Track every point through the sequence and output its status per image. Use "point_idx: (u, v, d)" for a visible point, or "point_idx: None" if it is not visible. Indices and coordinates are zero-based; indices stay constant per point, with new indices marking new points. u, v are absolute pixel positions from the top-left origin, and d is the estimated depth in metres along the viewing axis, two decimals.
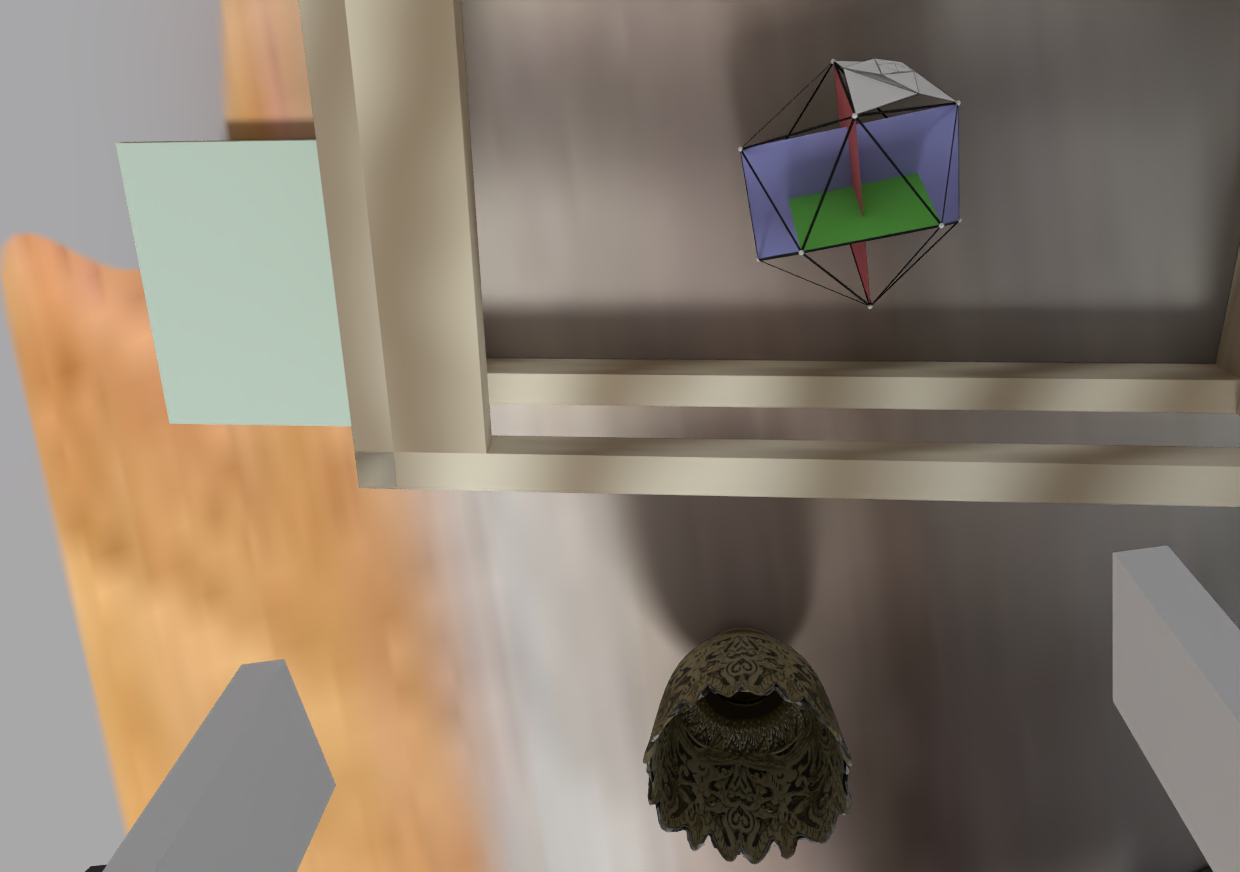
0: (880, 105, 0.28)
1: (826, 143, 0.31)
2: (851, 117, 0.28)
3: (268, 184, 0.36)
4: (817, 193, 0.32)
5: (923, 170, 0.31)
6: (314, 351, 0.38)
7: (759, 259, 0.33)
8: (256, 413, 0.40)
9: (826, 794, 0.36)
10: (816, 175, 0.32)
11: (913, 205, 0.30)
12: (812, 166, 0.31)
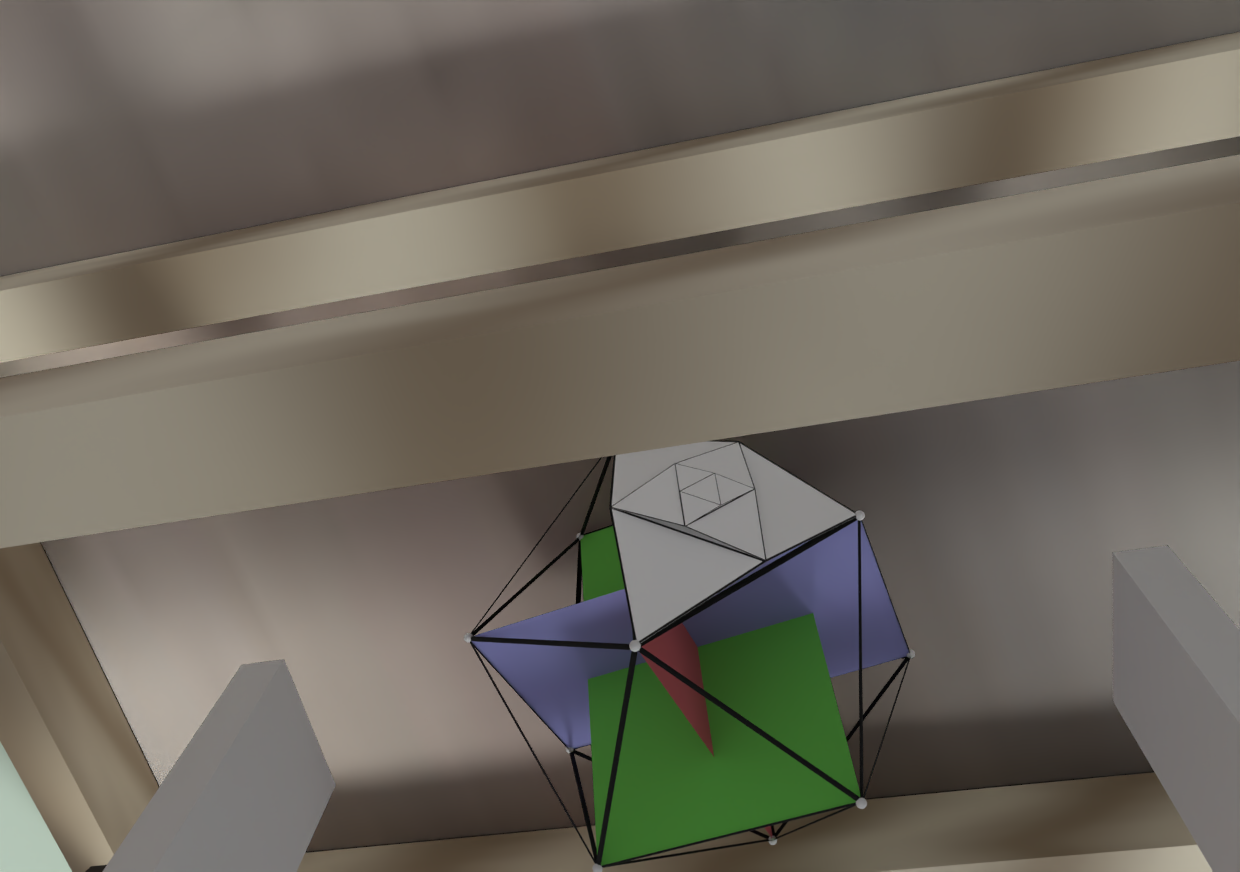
0: (687, 608, 0.13)
1: (625, 605, 0.16)
2: (629, 647, 0.13)
3: None
4: (637, 664, 0.17)
5: (822, 608, 0.16)
6: None
7: (570, 753, 0.19)
8: None
9: None
10: (625, 644, 0.17)
11: (805, 724, 0.15)
12: (612, 636, 0.17)
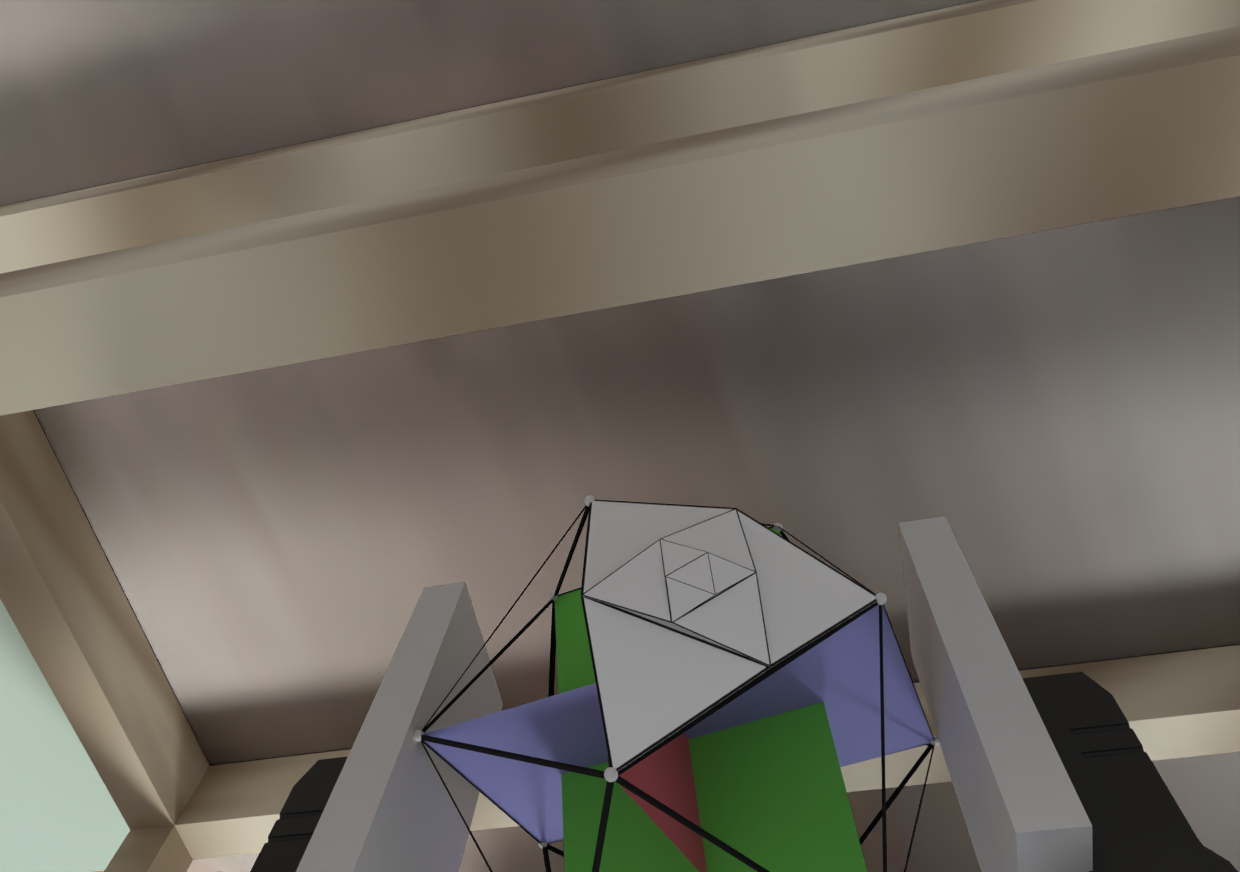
0: (674, 726, 0.11)
1: None
2: (604, 776, 0.11)
3: None
4: None
5: (834, 697, 0.14)
6: None
7: (543, 849, 0.16)
8: None
9: None
10: (604, 738, 0.14)
11: (816, 844, 0.13)
12: (588, 730, 0.14)
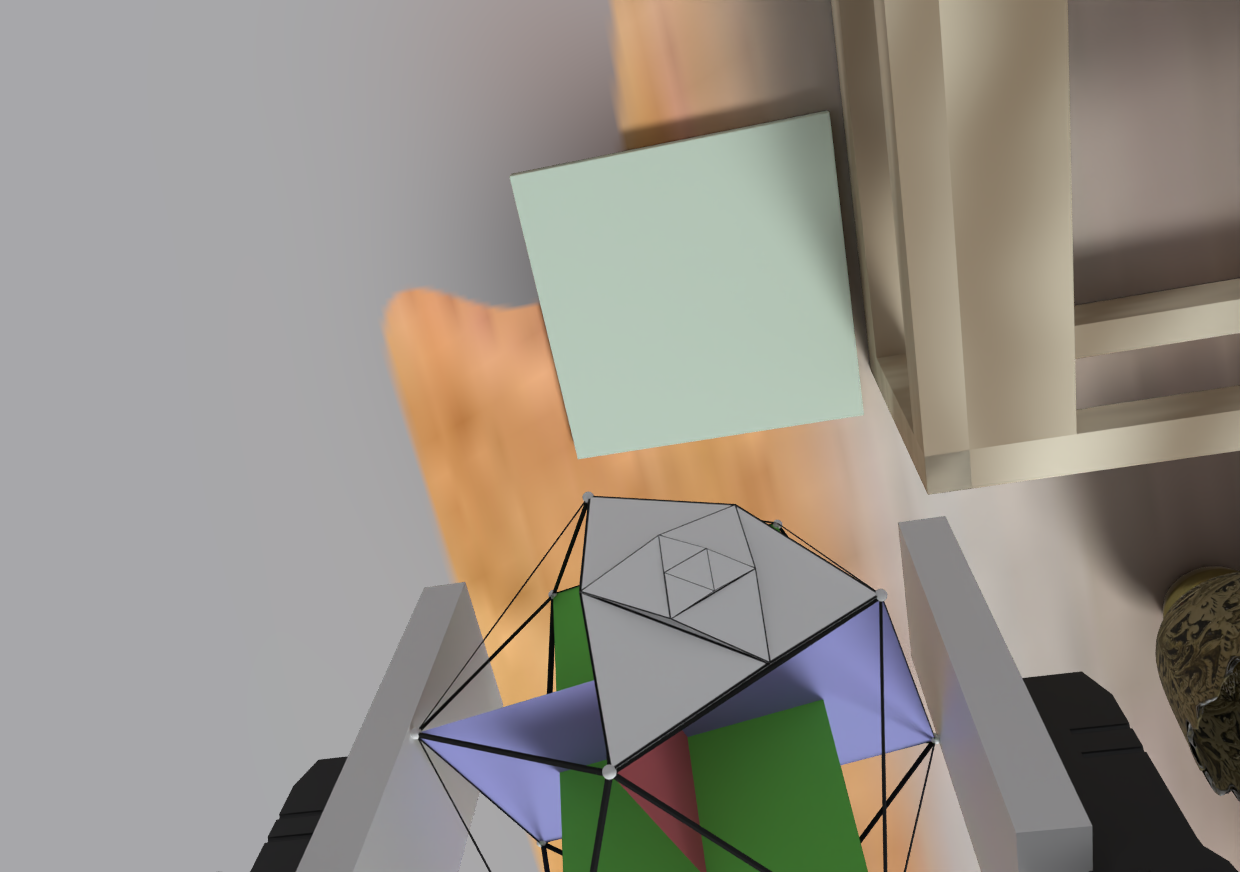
0: (673, 723, 0.11)
1: None
2: (602, 773, 0.11)
3: (677, 189, 0.34)
4: None
5: (833, 694, 0.14)
6: (732, 357, 0.36)
7: (541, 848, 0.16)
8: (670, 432, 0.38)
9: None
10: (603, 735, 0.14)
11: (817, 842, 0.13)
12: (587, 728, 0.14)
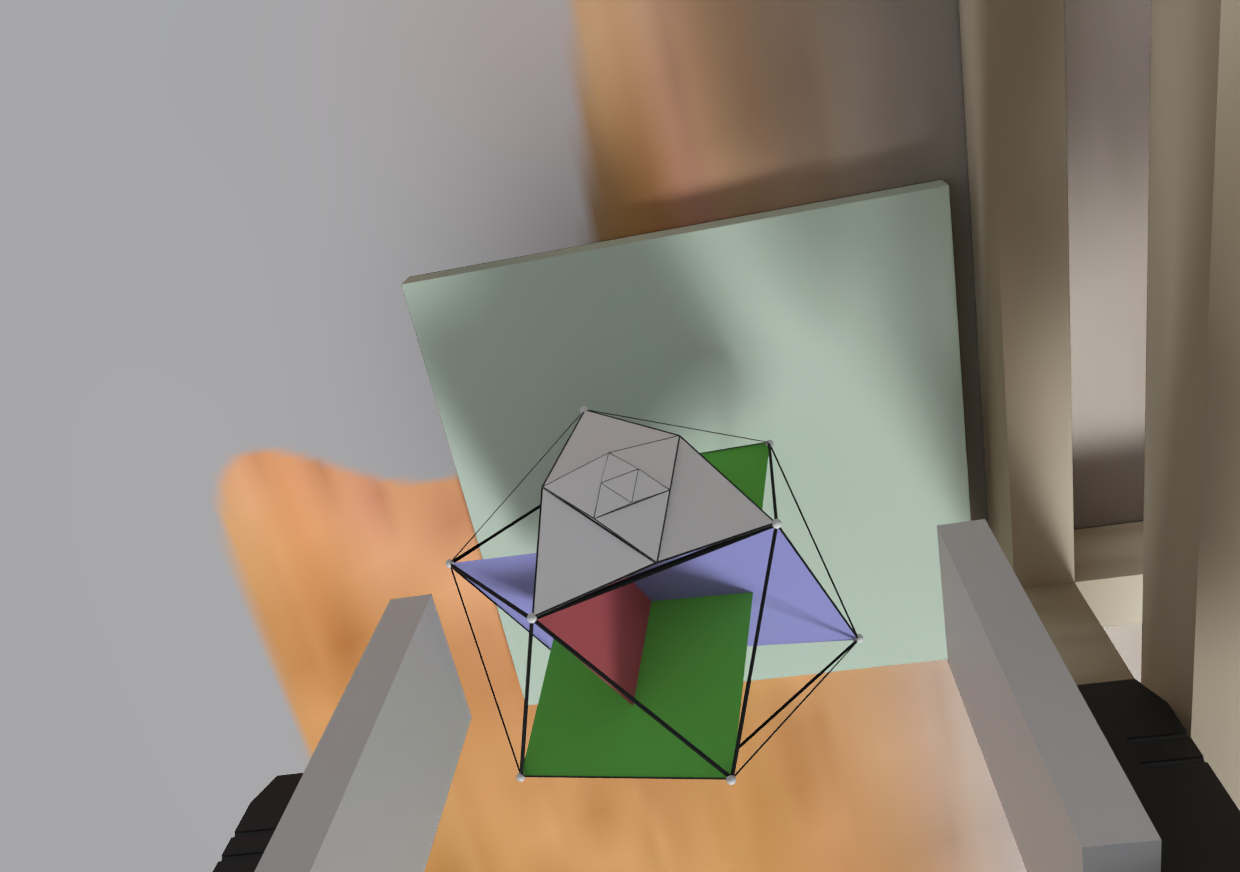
0: (580, 593, 0.15)
1: None
2: None
3: (683, 309, 0.20)
4: None
5: (761, 590, 0.17)
6: None
7: None
8: None
9: None
10: None
11: (712, 696, 0.17)
12: None
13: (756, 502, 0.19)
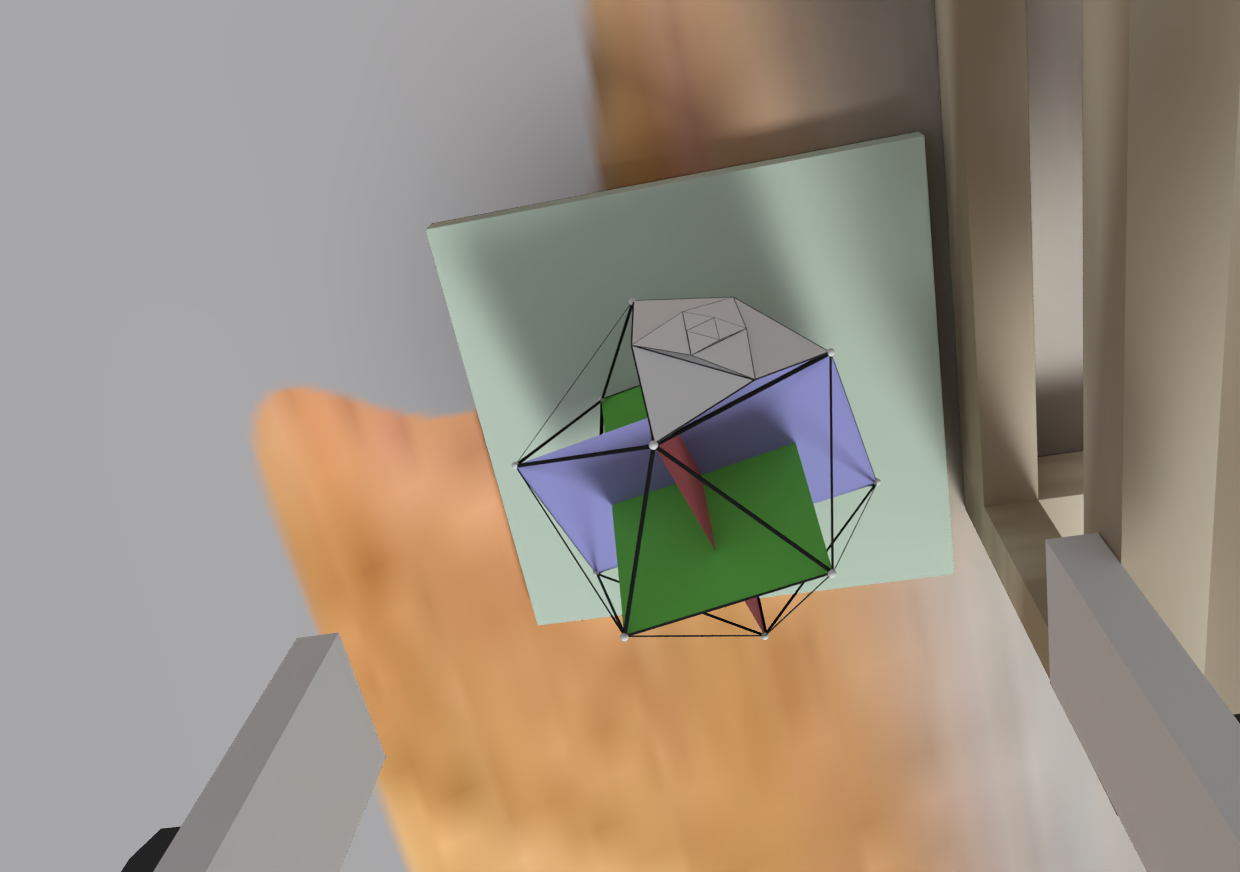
0: (693, 416, 0.17)
1: (642, 435, 0.20)
2: (649, 447, 0.17)
3: (684, 251, 0.22)
4: (652, 491, 0.21)
5: (802, 438, 0.20)
6: None
7: (596, 575, 0.23)
8: None
9: None
10: (642, 472, 0.21)
11: (789, 523, 0.19)
12: (632, 464, 0.20)
13: None
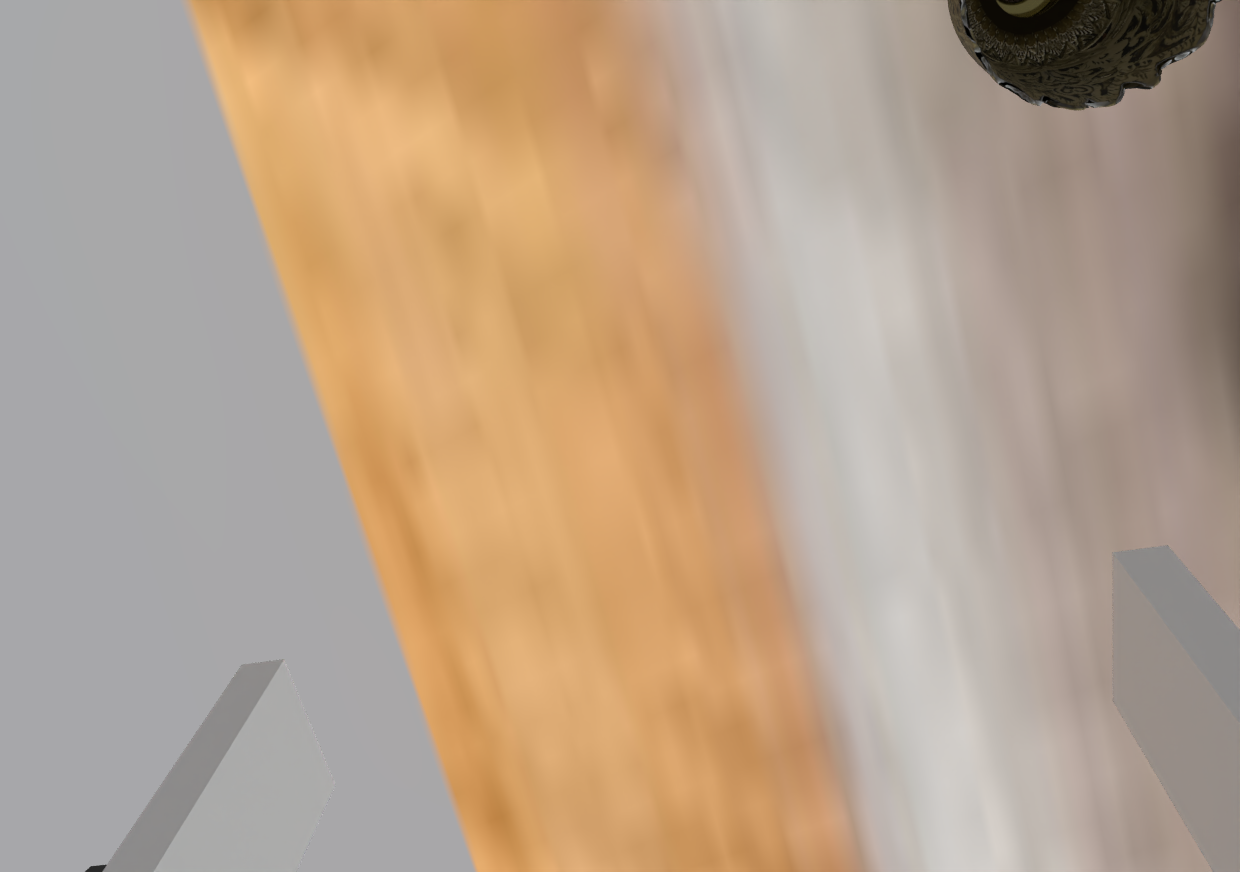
0: None
1: None
2: None
3: None
4: None
5: None
6: None
7: None
8: None
9: (1186, 8, 0.29)
10: None
11: None
12: None
13: None
